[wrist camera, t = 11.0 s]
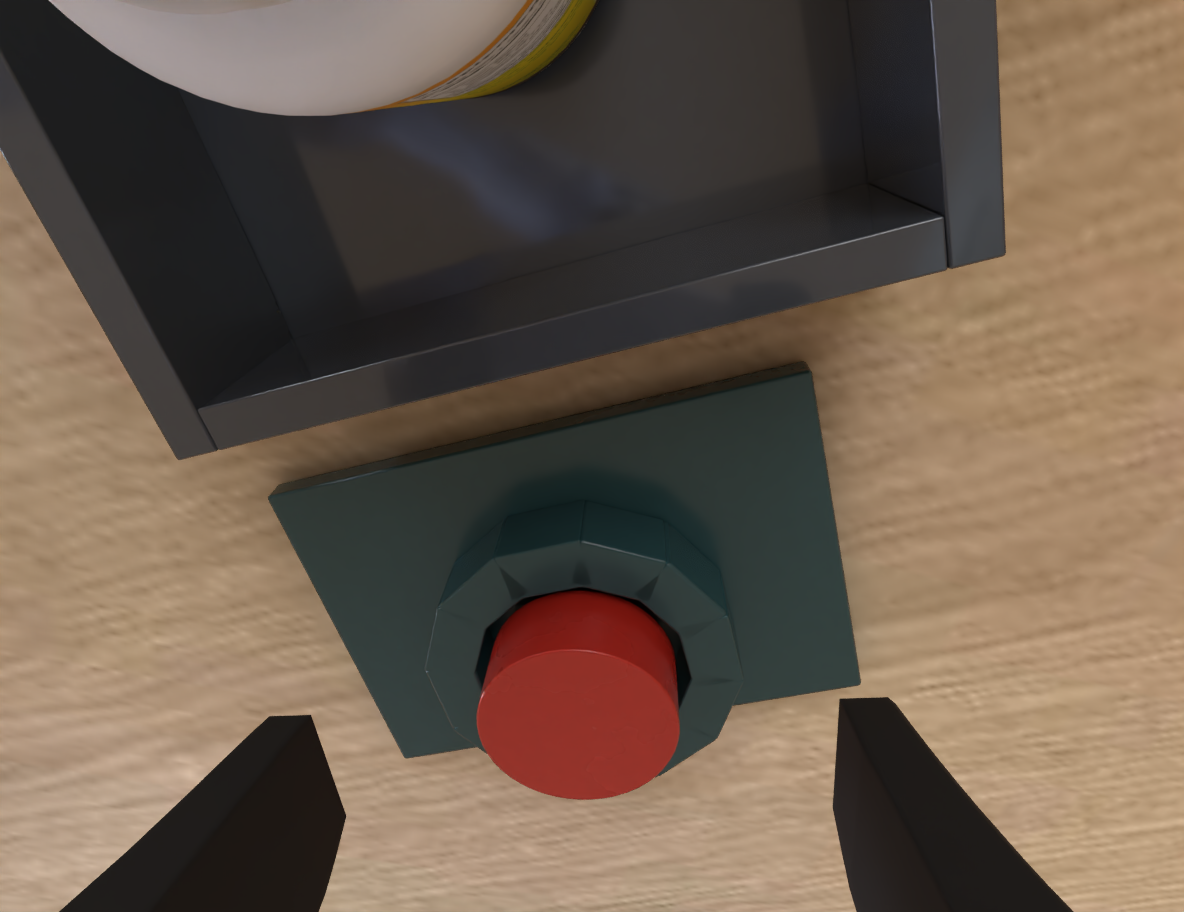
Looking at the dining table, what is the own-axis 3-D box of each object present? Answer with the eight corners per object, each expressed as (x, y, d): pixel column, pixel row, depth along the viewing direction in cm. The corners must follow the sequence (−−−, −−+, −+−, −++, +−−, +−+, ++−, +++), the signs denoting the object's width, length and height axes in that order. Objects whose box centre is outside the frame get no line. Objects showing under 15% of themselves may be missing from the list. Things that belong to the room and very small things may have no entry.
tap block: (412, 745, 22) (387, 817, 20) (277, 483, 19) (228, 538, 16) (855, 671, 20) (882, 744, 18) (805, 359, 16) (832, 402, 14)
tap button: (524, 743, 19) (512, 812, 17) (466, 608, 17) (446, 670, 16) (693, 716, 18) (699, 785, 17) (651, 572, 17) (653, 633, 15)
